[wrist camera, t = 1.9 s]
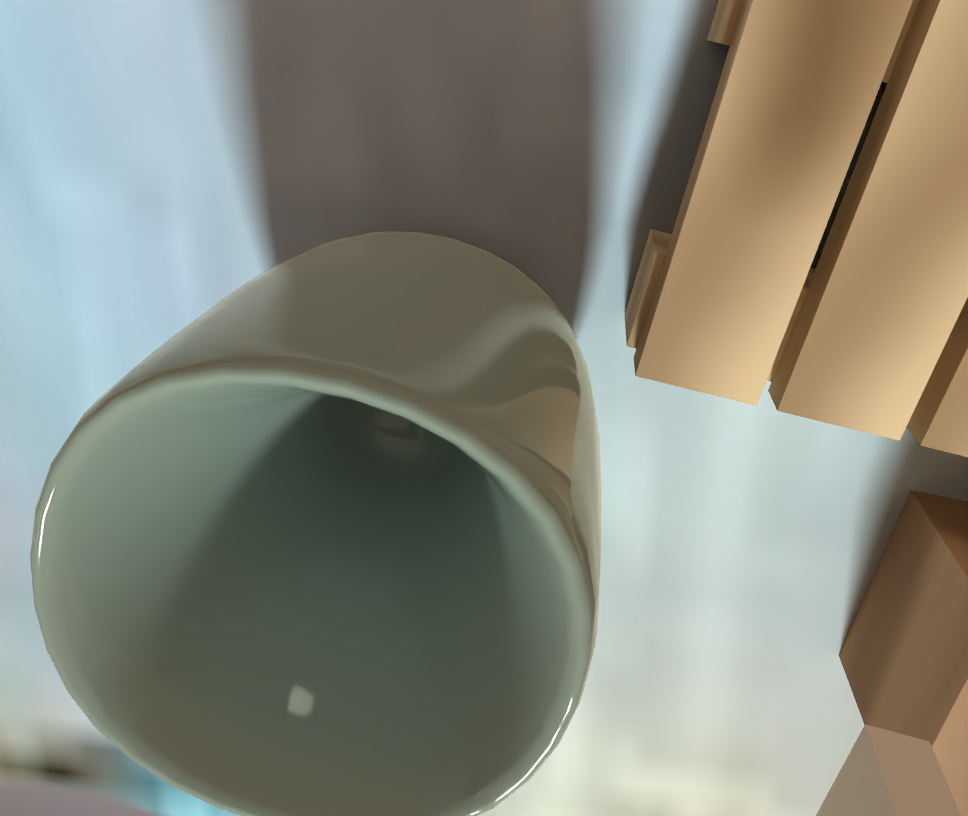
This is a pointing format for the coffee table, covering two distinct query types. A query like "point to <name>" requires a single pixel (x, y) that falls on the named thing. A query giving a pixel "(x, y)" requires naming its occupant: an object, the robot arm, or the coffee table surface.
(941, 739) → the crate
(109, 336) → the coffee table surface
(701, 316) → the pallet dock
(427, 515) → the cup
